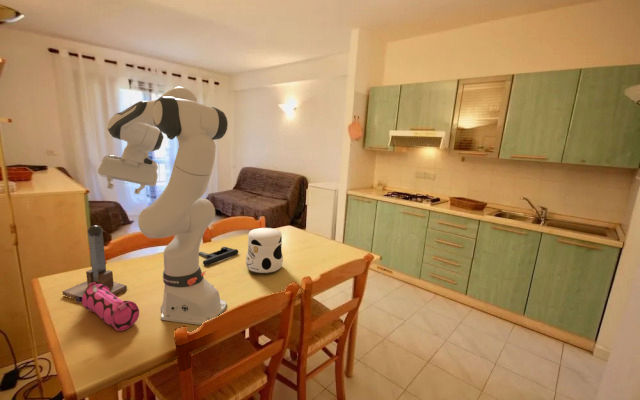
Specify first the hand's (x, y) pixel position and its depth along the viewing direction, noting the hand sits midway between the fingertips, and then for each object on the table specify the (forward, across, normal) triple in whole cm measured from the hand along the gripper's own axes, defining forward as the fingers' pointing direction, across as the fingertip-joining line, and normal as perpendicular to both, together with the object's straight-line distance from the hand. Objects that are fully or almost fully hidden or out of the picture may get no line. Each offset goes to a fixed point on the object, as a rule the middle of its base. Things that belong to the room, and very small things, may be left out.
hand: (123, 191), depth 114 cm
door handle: (+18, +40, +30) cm, 53 cm away
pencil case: (+46, +11, -8) cm, 48 cm away
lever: (+34, 0, +7) cm, 35 cm away
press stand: (+39, 0, +8) cm, 40 cm away
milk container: (+22, +63, +12) cm, 68 cm away
